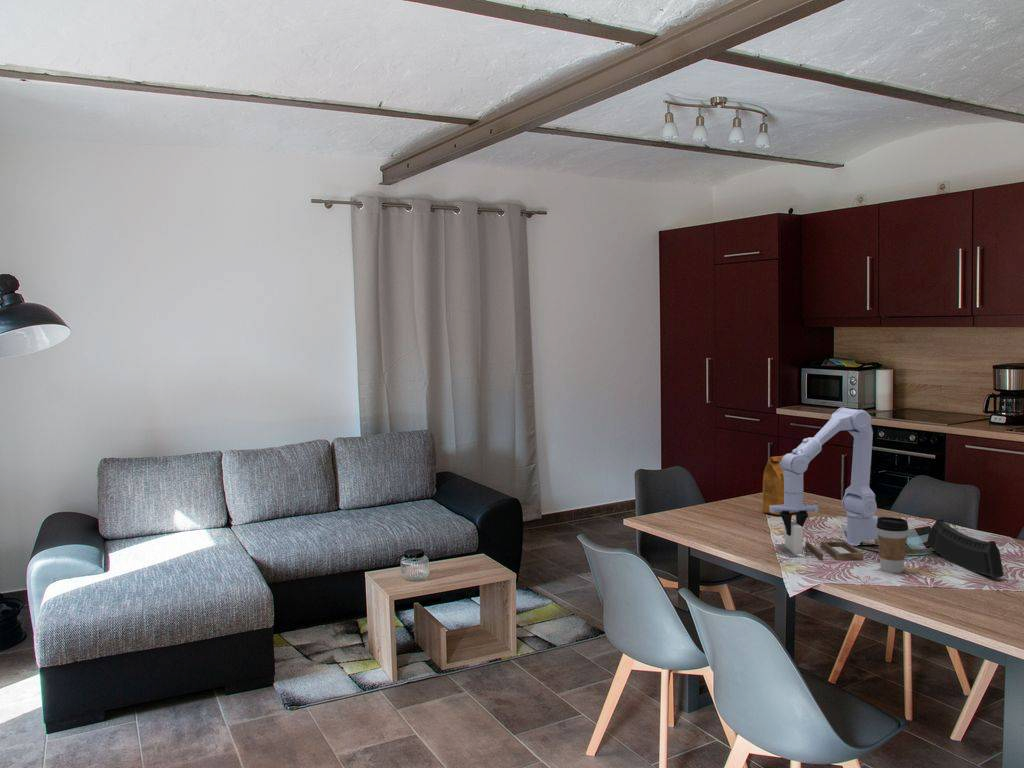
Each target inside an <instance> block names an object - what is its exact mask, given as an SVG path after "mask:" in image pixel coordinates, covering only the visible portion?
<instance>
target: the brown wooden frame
mask: <svg viewBox="0 0 1024 768" xmlns="http://www.w3.org/2000/svg"><path fill="white" fill-rule="evenodd" d="M804 543H805V544H804V545H805V547H804V548H806V549H808V550H809V551H810V552H811V553H812V554H811V553H810V552H809V551H808V550H807V551H808V552H809V553H810V554H811V555H813V554H814V555H815V556H816V557H817V558H818V559H817V558H816V557H815V556H814V555H813V556H814V557H815V558H816V559H817V560H819V561H824V553H823V552H821V551H820V550H819V549H818V548H817V547H815V546H814V545H813V544H811V543H810V542H808V541H807V542H804ZM832 547H842V548H844V549H845V550H847V551H849V552H850V553H838V552H837V551H836V550H834V549H833V548H832ZM821 548H822V549H821ZM806 549H805V550H806ZM820 549H821V550H823V551H824V550H825V551H826V552H825V551H824V552H825V553H827V555H829V554H830V555H831V556H830V555H829V556H830V557H831V558H833V559H834V560H835V561H838V560H841V561H864V552H861V551H860V550H859V549H857V548H856V547H855V546H851V545H850V544H849V543H847V542H846V541H843V540H842V541H840V540H839V541H838V540H837V541H820ZM838 562H839V561H838Z"/></svg>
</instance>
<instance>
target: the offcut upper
mask: <svg viewBox="0 0 1024 768" xmlns="http://www.w3.org/2000/svg"><path fill="white" fill-rule="evenodd" d="M832 548H833V549H834V550H836V551H837V552H838V553H850V552H849V551H847V550H845V549H844V548H842V547H832Z"/></svg>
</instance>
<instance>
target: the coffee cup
mask: <svg viewBox="0 0 1024 768" xmlns="http://www.w3.org/2000/svg"><path fill="white" fill-rule="evenodd" d="M877 518H878V519H877V524H876V525H877V526H876V527H877V528H878V545H879V546H878V552H879V553H878V555H879V561H880V562H879V566H880V570H881V571H883V572H885V571H886V573H891V574H893V573H894V574H899V573H903V572H904V566H905V556H906V549H907V541H908V540H907V539H908V535H907V532H908V530H909V524H908V520H906V519H904V518H900V517H899V518H898V517H891V516H890V517H889V516H877Z"/></svg>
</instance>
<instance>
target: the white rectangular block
mask: <svg viewBox="0 0 1024 768" xmlns="http://www.w3.org/2000/svg"><path fill="white" fill-rule="evenodd" d="M803 529H804V526H803V527H801V526H800V525H799V524H797V523H796V520H793V519H791V536H788V535H787V533H786V528H785V527H784V544H785V547H787V548H788V549H789V550H790V551H791V552H792V553H793V554H795V555H796V554H803V549H804V547H803V541H804V539H803V536H804V533H803V532H804V531H803Z"/></svg>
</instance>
